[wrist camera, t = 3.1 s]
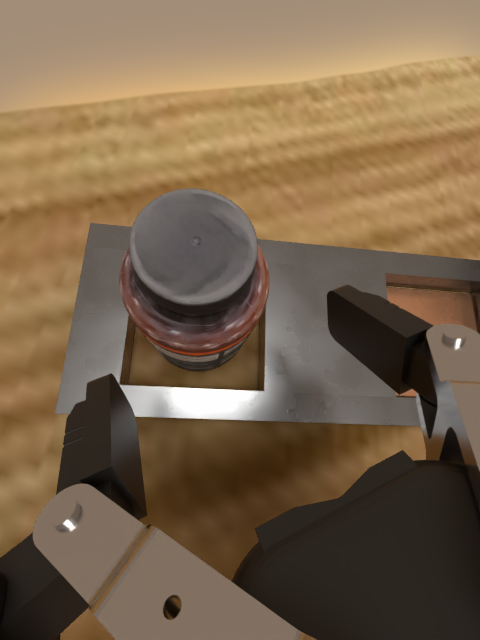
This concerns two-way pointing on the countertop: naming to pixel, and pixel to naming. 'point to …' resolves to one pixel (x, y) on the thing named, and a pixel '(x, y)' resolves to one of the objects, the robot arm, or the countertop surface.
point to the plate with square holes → (272, 334)
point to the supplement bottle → (194, 277)
